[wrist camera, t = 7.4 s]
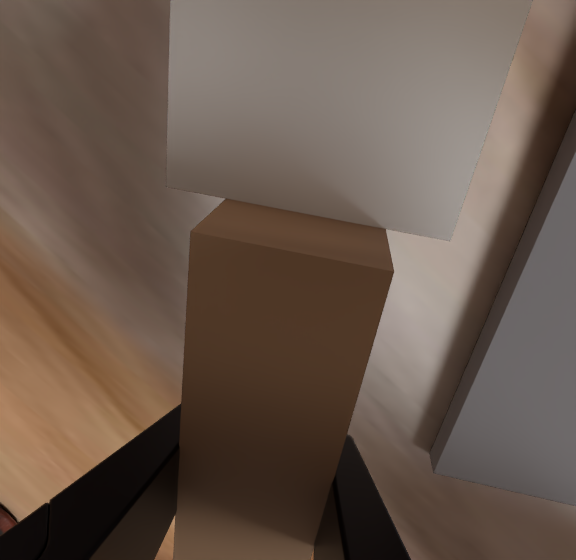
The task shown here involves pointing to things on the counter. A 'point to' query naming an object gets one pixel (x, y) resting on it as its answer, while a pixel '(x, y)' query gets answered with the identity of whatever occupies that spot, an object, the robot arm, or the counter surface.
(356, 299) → the two-tone stepped block
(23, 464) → the counter surface
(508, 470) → the mat
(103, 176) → the counter surface
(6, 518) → the supplement bottle
